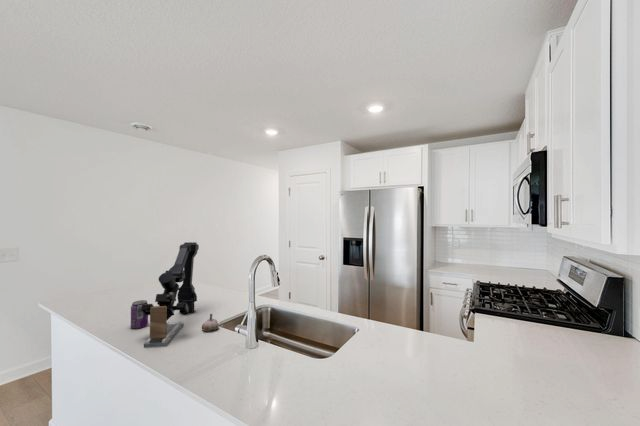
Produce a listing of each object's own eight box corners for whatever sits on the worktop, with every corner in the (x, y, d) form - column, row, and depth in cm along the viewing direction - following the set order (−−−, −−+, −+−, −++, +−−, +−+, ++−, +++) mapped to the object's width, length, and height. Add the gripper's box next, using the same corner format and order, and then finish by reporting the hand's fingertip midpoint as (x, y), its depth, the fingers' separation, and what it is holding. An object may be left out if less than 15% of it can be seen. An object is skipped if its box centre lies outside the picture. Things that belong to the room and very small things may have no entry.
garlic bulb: (221, 328, 132) (222, 312, 132) (210, 334, 125) (210, 317, 125) (210, 325, 135) (210, 309, 135) (198, 331, 128) (198, 314, 128)
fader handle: (152, 338, 117) (153, 305, 117) (167, 337, 118) (167, 305, 118) (148, 342, 113) (148, 308, 113) (163, 341, 114) (164, 308, 114)
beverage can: (151, 323, 136) (151, 300, 136) (140, 329, 129) (140, 304, 129) (138, 323, 137) (138, 299, 137) (126, 329, 130) (127, 304, 130)
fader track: (164, 327, 132) (164, 322, 132) (183, 326, 133) (183, 321, 133) (143, 347, 112) (143, 341, 112) (166, 346, 114) (167, 340, 114)
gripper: (142, 286, 120) (128, 320, 109) (186, 284, 123) (177, 318, 112) (150, 298, 128) (138, 331, 117) (192, 296, 131) (184, 329, 120)
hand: (159, 327), depth 117 cm, fingers closed
